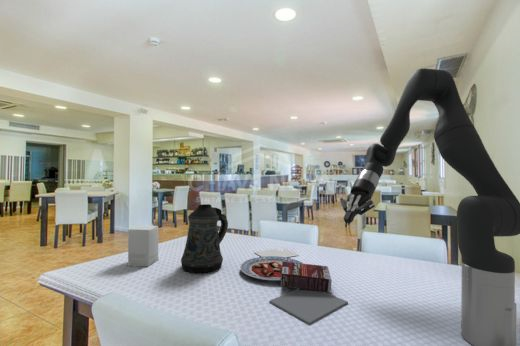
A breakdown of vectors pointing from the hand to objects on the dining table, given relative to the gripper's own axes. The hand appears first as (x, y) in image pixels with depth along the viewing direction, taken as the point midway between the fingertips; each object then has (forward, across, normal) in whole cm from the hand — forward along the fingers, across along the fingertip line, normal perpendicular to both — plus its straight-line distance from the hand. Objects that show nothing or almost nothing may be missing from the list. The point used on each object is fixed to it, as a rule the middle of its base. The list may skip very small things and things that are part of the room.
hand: (346, 221), depth 90 cm
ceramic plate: (+23, -26, +9) cm, 35 cm away
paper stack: (+8, -45, +24) cm, 52 cm away
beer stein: (+35, -48, -4) cm, 60 cm away
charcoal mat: (+29, -1, +2) cm, 29 cm away
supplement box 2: (+48, -67, -17) cm, 84 cm away
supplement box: (+17, -2, +9) cm, 20 cm away
